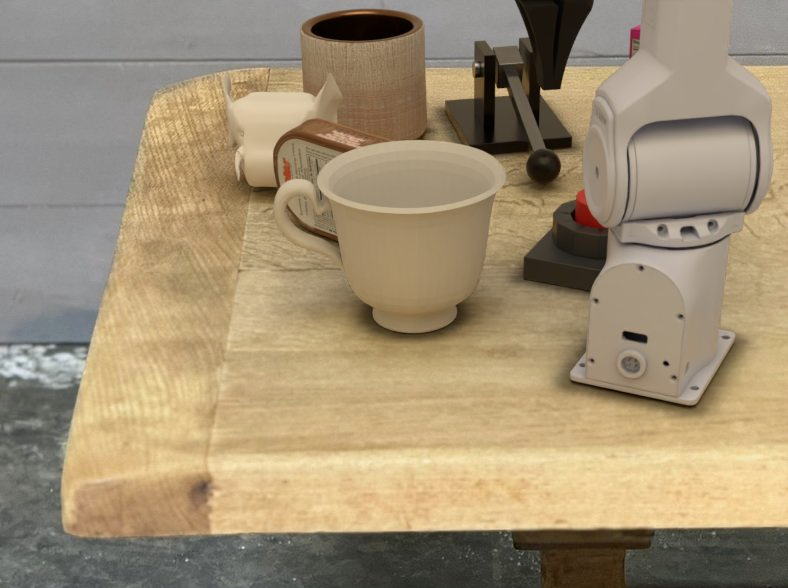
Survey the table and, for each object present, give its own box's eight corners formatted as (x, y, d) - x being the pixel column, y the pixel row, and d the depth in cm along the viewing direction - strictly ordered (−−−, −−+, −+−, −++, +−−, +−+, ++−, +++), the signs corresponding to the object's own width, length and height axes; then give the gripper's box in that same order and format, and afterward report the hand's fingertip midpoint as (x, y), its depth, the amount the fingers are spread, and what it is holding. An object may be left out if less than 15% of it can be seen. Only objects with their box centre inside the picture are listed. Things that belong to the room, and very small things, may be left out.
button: (621, 235, 92) (622, 211, 91) (566, 226, 93) (567, 202, 92) (639, 214, 94) (641, 190, 93) (586, 205, 96) (587, 182, 95)
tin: (444, 261, 96) (443, 149, 91) (415, 276, 94) (413, 162, 90) (299, 210, 105) (291, 105, 100) (270, 223, 103) (261, 116, 98)
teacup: (284, 282, 94) (272, 145, 88) (492, 271, 95) (494, 134, 89) (282, 364, 84) (268, 217, 79) (514, 352, 85) (518, 204, 79)
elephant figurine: (208, 210, 105) (195, 99, 100) (244, 156, 115) (234, 52, 110) (326, 213, 104) (319, 101, 99) (352, 158, 114) (347, 54, 109)
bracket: (571, 147, 114) (576, 62, 110) (469, 156, 113) (469, 70, 109) (539, 103, 124) (542, 23, 120) (444, 110, 123) (444, 30, 119)
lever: (562, 190, 107) (566, 160, 105) (528, 192, 106) (531, 163, 104) (518, 71, 118) (520, 42, 116) (487, 73, 117) (489, 45, 115)
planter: (301, 157, 114) (293, 44, 109) (310, 115, 123) (303, 8, 118) (426, 155, 114) (425, 41, 108) (427, 112, 123) (425, 6, 117)
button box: (631, 299, 90) (635, 251, 88) (522, 279, 93) (524, 232, 91) (674, 243, 98) (679, 198, 96) (572, 226, 101) (574, 182, 99)
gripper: (637, -121, 98) (625, 64, 106) (445, -109, 97) (447, 77, 105) (667, -103, 93) (651, 91, 100) (463, -90, 91) (463, 105, 99)
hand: (548, 86), depth 102 cm, fingers closed
